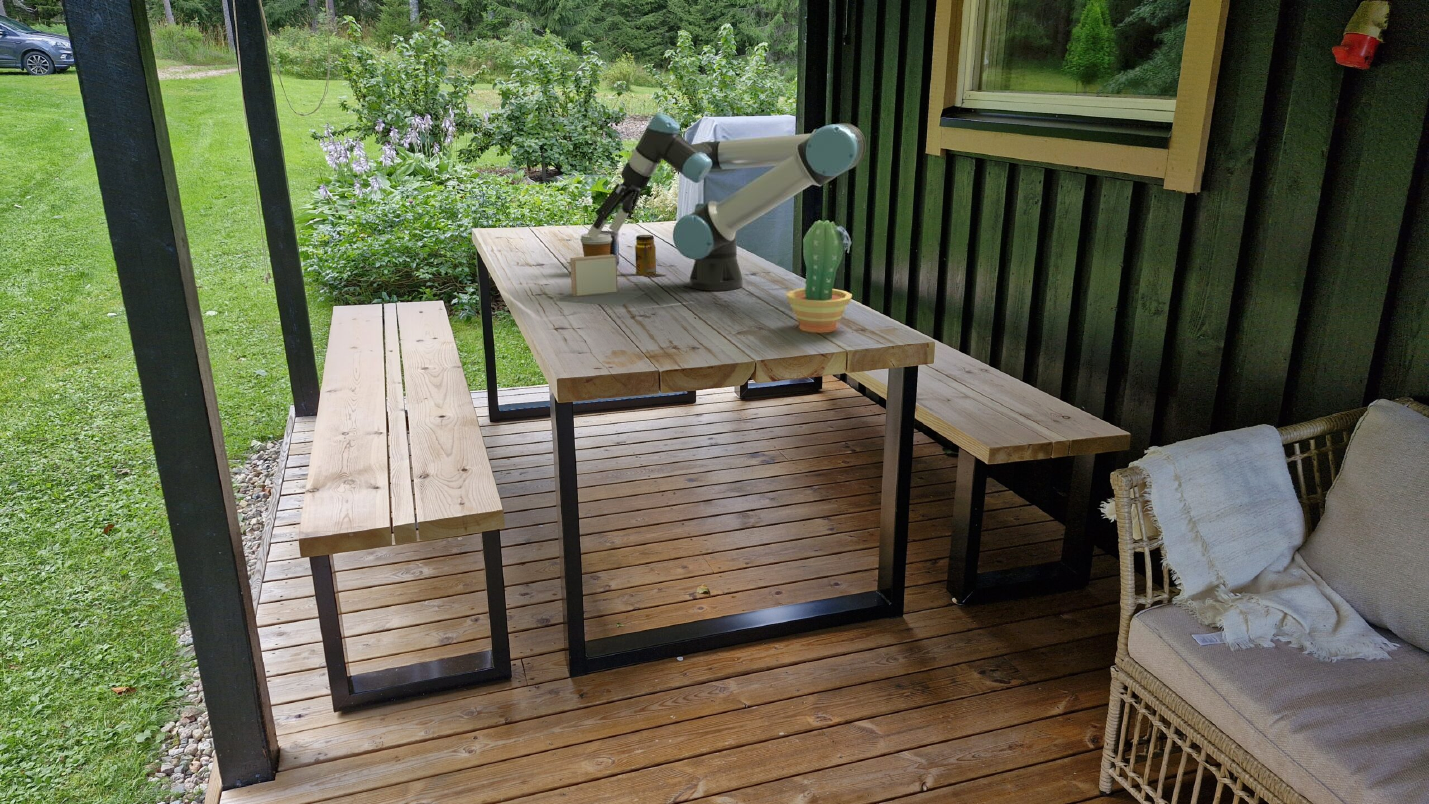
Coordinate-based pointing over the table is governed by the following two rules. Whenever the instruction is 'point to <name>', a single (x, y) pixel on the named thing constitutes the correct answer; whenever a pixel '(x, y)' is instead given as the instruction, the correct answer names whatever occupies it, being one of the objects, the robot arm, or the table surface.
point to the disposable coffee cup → (596, 245)
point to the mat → (604, 298)
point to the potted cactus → (821, 279)
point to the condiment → (646, 256)
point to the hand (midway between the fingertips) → (602, 234)
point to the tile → (594, 275)
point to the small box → (614, 244)
